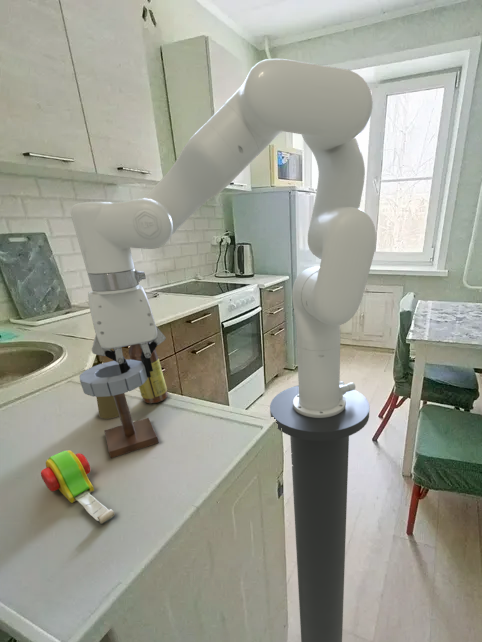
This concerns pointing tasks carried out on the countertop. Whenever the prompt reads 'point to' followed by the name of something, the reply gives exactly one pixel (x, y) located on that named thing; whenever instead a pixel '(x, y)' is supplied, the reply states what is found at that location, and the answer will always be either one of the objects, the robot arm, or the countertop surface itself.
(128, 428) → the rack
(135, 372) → the segmented block ring
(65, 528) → the countertop surface
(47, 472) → the toy measuring tape
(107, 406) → the cork
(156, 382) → the sauce bottle
